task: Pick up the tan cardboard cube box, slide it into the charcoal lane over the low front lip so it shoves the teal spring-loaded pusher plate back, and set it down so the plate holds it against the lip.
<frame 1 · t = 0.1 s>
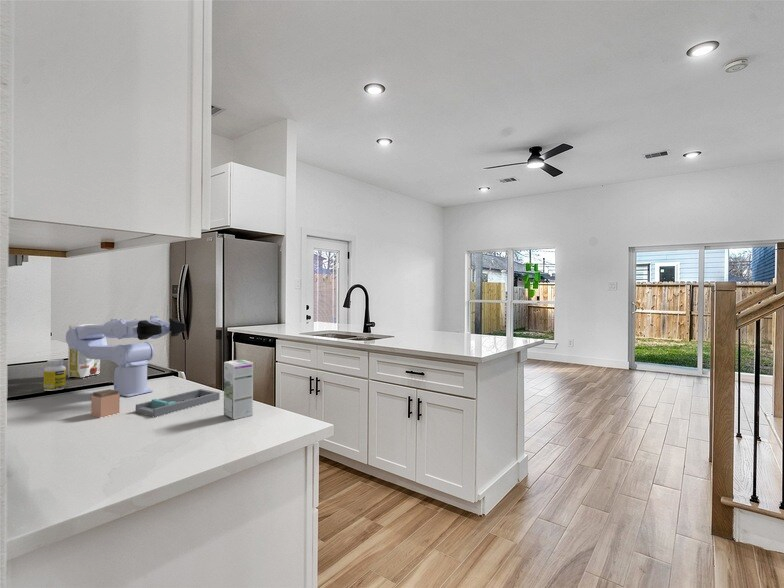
hand: (173, 328, 118), 22 cm above the counter, tool horizontal, fingers open, 7 cm apart
tan cardboard cube box: (105, 414, 106), on the counter
supplement bottle: (54, 391, 128), on the counter
syrup box: (238, 416, 108), on the counter
lane: (180, 405, 116), on the counter
pusher: (166, 403, 112), point 2 cm above the counter, slide at 0.0 cm
juice carton: (84, 376, 148), on the counter
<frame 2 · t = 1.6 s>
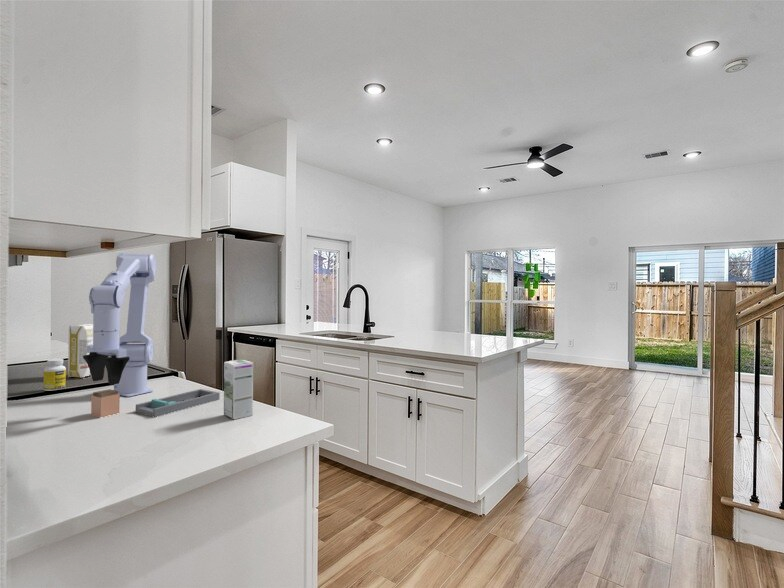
hand: (105, 382, 106), 8 cm above the counter, tool pointing down, fingers open, 7 cm apart
nothing on the counter moved.
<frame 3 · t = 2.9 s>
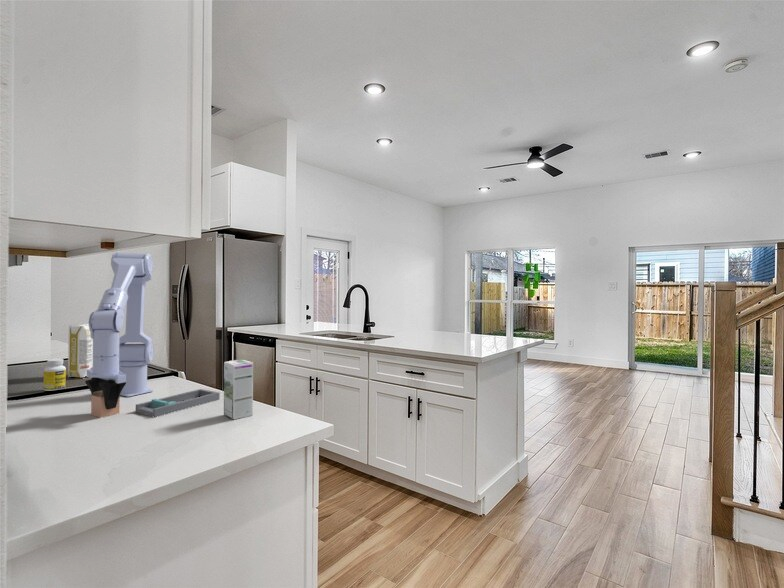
hand: (105, 406, 106), 2 cm above the counter, tool pointing down, fingers closed on tan cardboard cube box, 4 cm apart
tan cardboard cube box: (105, 414, 106), on the counter, touching gripper
everything else where it was.
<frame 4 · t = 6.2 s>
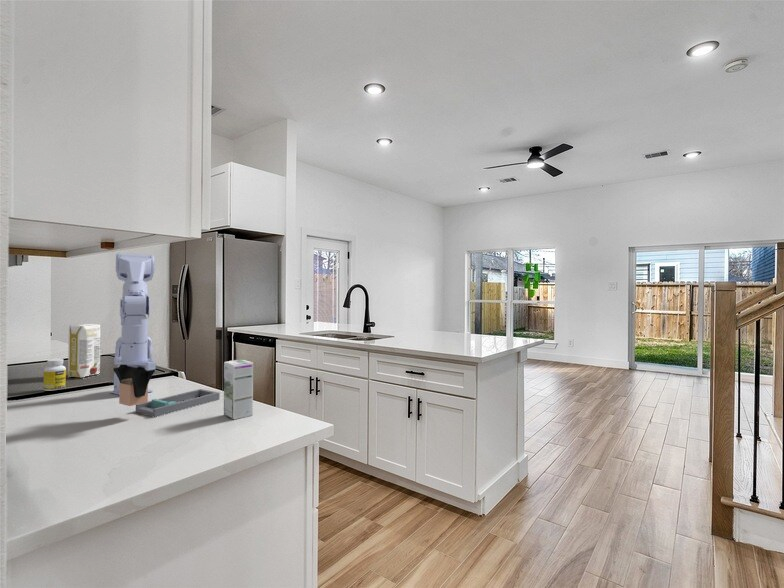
hand: (133, 395, 104), 6 cm above the counter, tool pointing down, fingers closed on tan cardboard cube box, 4 cm apart
tan cardboard cube box: (133, 402, 104), point 4 cm above the counter, touching gripper
everything else where it was.
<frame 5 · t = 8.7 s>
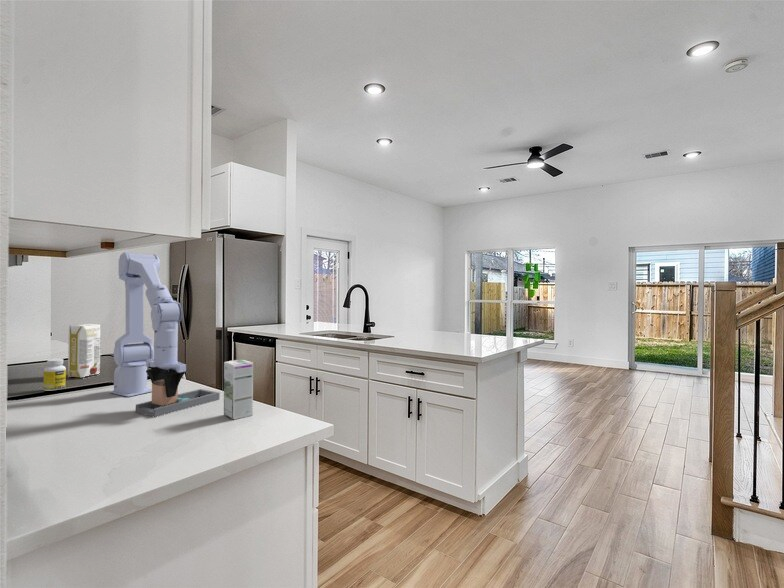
hand: (165, 395, 112), 4 cm above the counter, tool pointing down, fingers closed on tan cardboard cube box, 4 cm apart
tan cardboard cube box: (164, 402, 112), point 2 cm above the counter, touching gripper, pusher
pusher: (180, 399, 116), point 2 cm above the counter, slide at 4.1 cm, touching tan cardboard cube box
everything else where it was.
when the fingers open (3 cm above the counter, at t = 9.7 s): tan cardboard cube box drops 1 cm, resting in lane.
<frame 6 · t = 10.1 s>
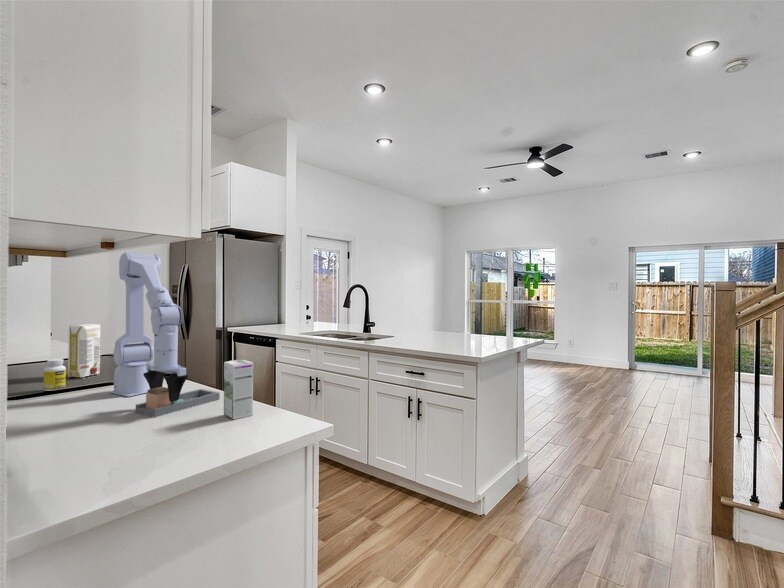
hand: (165, 398, 112), 3 cm above the counter, tool pointing down, fingers open, 7 cm apart
tan cardboard cube box: (159, 411, 110), resting in lane
pusher: (175, 401, 114), point 1 cm above the counter, slide at 2.5 cm
everything else where it was.
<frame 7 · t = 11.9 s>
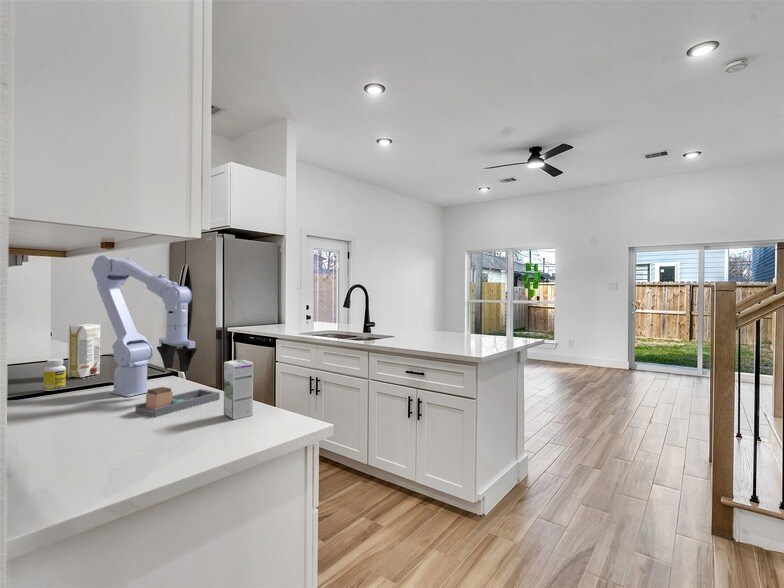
hand: (176, 369, 124), 8 cm above the counter, tool pointing down, fingers open, 7 cm apart
tan cardboard cube box: (159, 411, 110), resting in lane, touching pusher
pusher: (175, 401, 114), point 2 cm above the counter, slide at 2.5 cm, touching tan cardboard cube box
everything else where it was.
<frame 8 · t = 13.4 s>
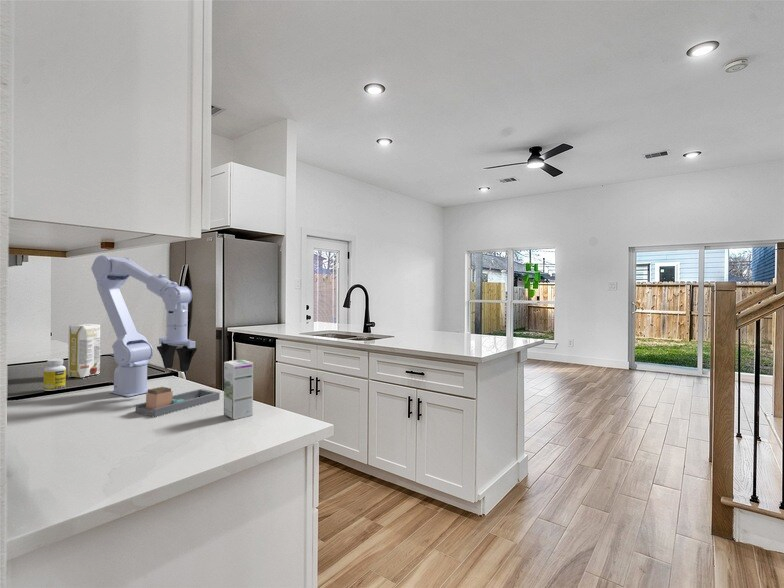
hand: (176, 369, 124), 8 cm above the counter, tool pointing down, fingers open, 7 cm apart
nothing on the counter moved.
at the end: tan cardboard cube box 0.1 cm from the target spot on the lane, point 0.0 cm above the lane's base; tan cardboard cube box tilted 0°; pusher slide at 2.5 cm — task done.
